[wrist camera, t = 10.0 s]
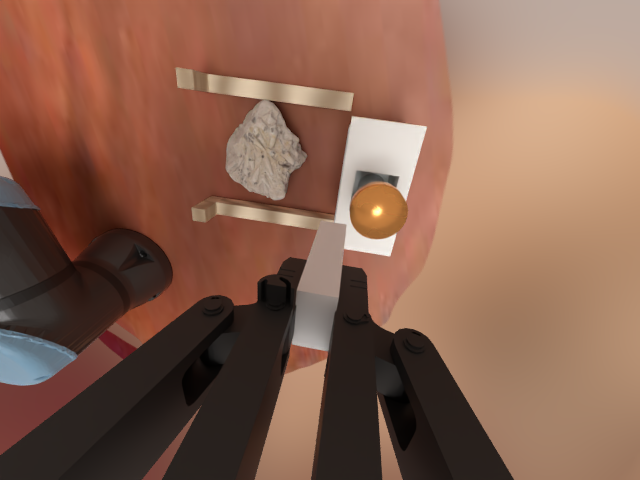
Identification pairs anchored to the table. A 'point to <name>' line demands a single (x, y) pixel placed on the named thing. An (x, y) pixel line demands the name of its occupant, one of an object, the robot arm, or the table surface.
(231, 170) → the rock
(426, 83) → the table surface
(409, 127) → the white button box
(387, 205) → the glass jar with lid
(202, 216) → the track
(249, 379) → the robot arm
